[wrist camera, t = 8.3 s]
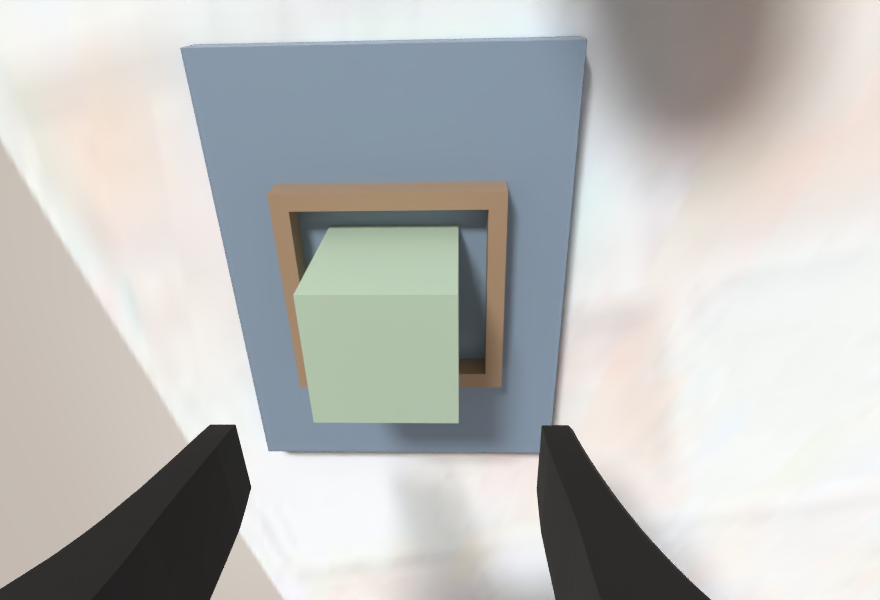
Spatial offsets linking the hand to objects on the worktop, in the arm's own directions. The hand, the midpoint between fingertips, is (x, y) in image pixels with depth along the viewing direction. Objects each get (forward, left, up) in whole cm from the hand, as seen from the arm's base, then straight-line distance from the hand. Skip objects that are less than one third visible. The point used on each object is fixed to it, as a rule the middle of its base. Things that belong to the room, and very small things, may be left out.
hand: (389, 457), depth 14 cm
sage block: (0, +1, -8) cm, 8 cm away
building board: (0, +1, -9) cm, 9 cm away
